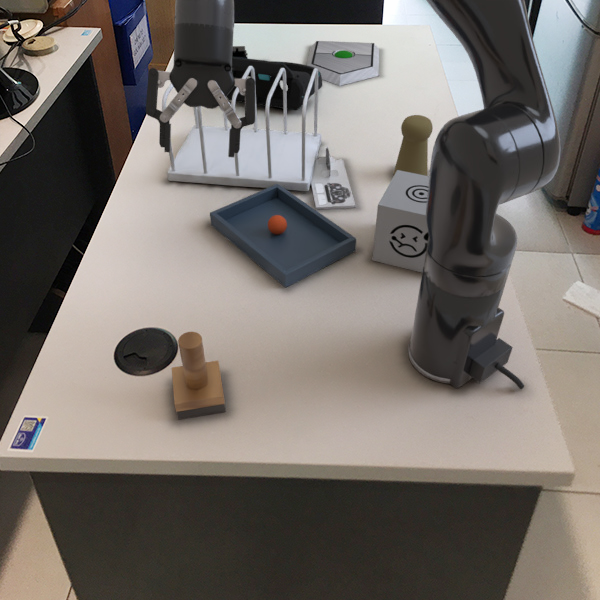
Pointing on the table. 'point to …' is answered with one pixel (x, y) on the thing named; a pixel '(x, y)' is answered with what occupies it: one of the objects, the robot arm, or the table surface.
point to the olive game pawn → (414, 145)
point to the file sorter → (249, 149)
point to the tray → (283, 234)
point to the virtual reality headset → (266, 76)
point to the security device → (344, 61)
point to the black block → (239, 52)
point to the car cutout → (331, 184)
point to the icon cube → (403, 222)
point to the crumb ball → (277, 224)
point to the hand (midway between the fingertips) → (199, 154)
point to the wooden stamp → (196, 380)
